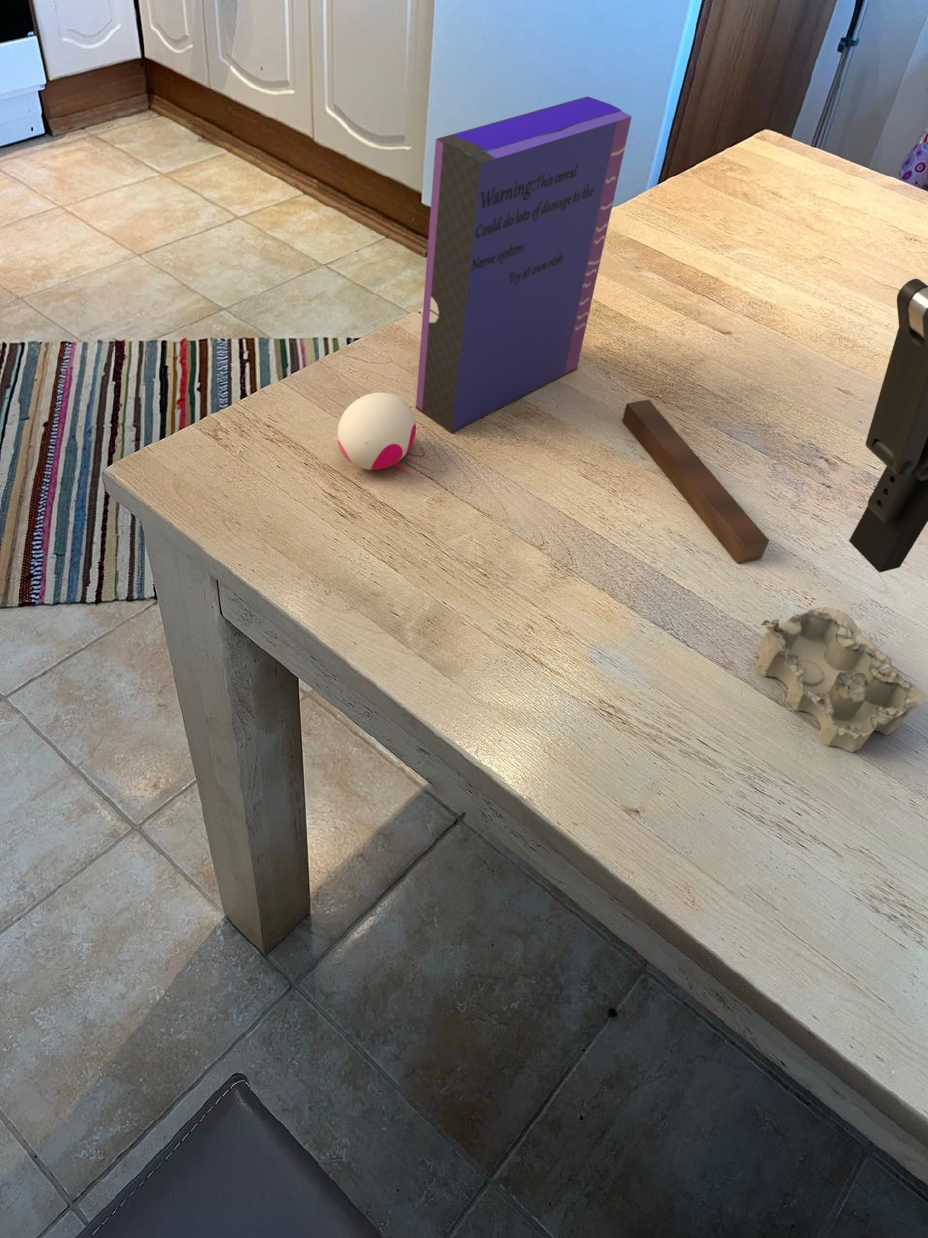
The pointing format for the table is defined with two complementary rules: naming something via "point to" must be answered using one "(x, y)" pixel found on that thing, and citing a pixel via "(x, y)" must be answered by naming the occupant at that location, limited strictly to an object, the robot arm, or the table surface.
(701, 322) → the table surface
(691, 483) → the walnut stick
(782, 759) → the table surface
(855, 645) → the egg carton
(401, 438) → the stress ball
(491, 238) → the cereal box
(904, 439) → the robot arm
